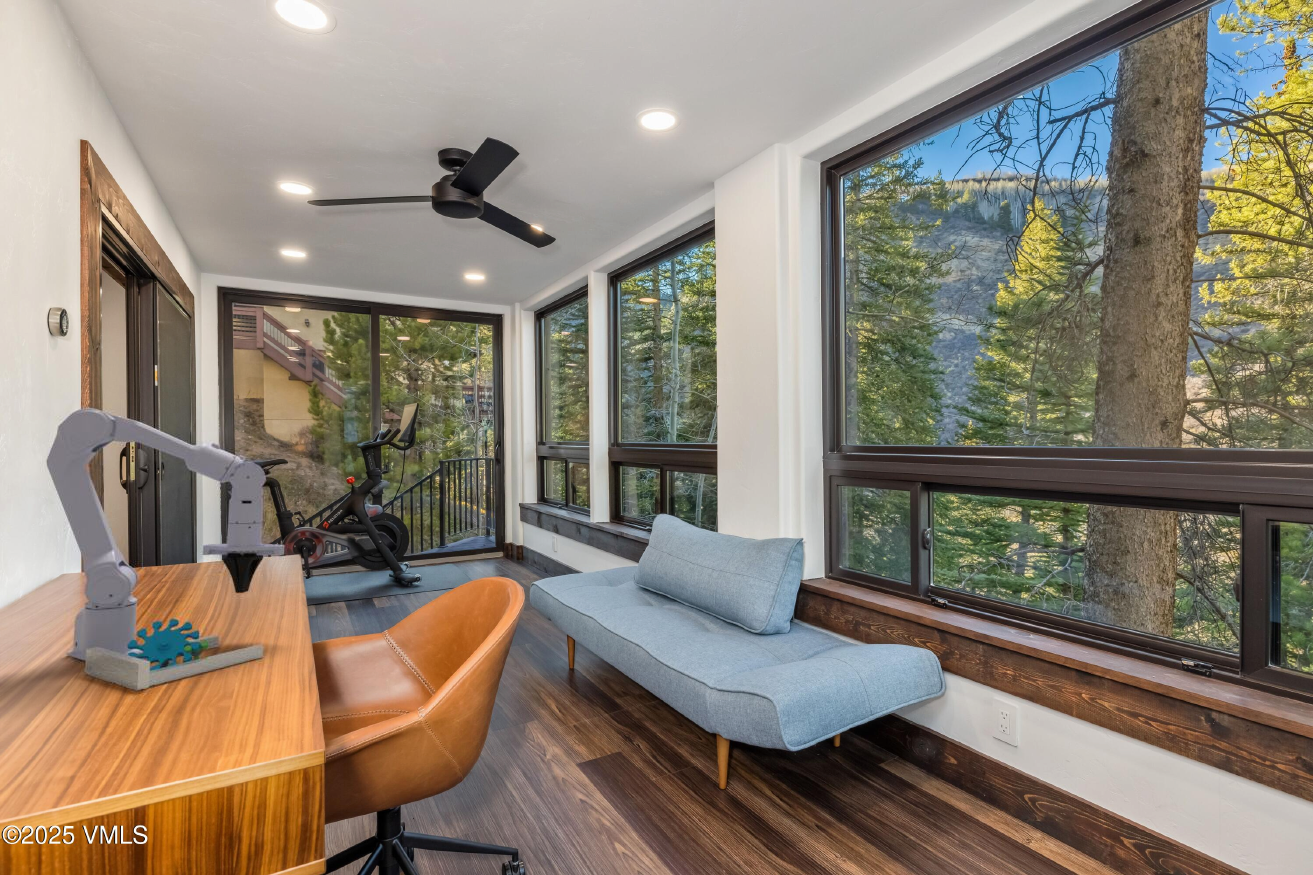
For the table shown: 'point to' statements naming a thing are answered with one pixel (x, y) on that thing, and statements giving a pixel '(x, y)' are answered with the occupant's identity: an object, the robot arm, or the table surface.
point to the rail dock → (140, 677)
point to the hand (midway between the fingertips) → (241, 591)
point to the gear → (168, 644)
